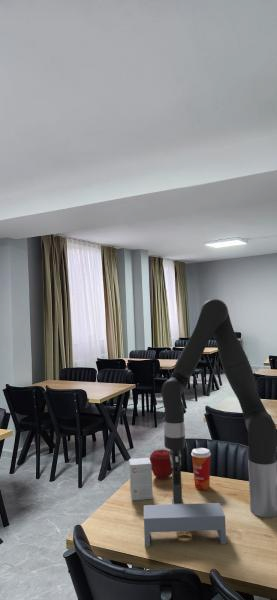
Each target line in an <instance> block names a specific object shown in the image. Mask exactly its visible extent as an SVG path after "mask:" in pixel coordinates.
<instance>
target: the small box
mask: <svg viewBox="0 0 277 600" xmlns="http://www.w3.org/2000/svg"><path fill="white" fill-rule="evenodd" d="M128 463H129V464H128V465H129V466H128V467H129V493H130V498H131V501H139V500H140V501H141V500H152V499H154V495H153V494H154V493H153V472H152V466H151V462H150V457H142V458H141V457H140V458H129V459H128Z"/></svg>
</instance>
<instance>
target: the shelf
mask: <svg viewBox="0 0 277 600" xmlns="http://www.w3.org/2000/svg"><path fill="white" fill-rule="evenodd" d="M143 525H144V526H143V531H144V533H143V534H144V536H143V537H144V547H150V546H151V544H150V543H151V538H150V537H151V536H150V535H151V534H150V533H169V532H171V533H173V532H175V533H176V532H179V531H189V532H202V531H216V533H217V536H218V538H219V542H220V544H221V545H227V531H226V530H227V529H226V528H227V526H226V515H225V513H224V510H223V508H222V505H221V503H220V502H210V503H207V502H205V503H203V502H202V503H184V504H172V503H171V504H148V505H143Z"/></svg>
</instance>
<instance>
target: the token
mask: <svg viewBox="0 0 277 600" xmlns="http://www.w3.org/2000/svg"><path fill="white" fill-rule="evenodd" d="M176 540H177V541H179V542H183V543H186V542H189V541H191V540H192V532H191V531H176Z"/></svg>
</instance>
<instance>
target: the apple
mask: <svg viewBox="0 0 277 600" xmlns="http://www.w3.org/2000/svg"><path fill="white" fill-rule="evenodd" d="M169 451H170V450H169V449H161V448H160V449H156V450H153V451H152V452H151V454H150V456H149V459H150V462H151V466H152V475H153V476H155V477H156V478H157V479H159V480H165V479H168V478H170V476H172V473H171V462H170V461H171V460H170V456H169Z"/></svg>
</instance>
